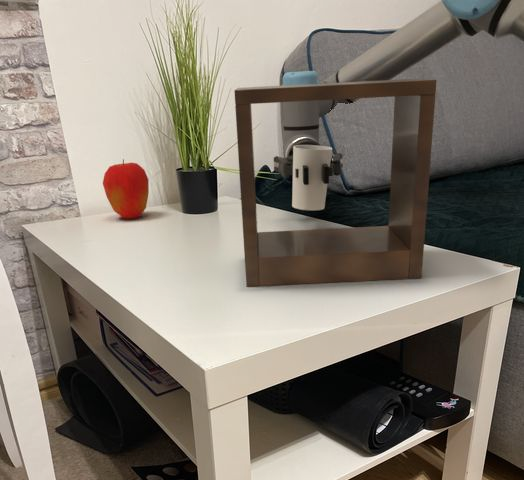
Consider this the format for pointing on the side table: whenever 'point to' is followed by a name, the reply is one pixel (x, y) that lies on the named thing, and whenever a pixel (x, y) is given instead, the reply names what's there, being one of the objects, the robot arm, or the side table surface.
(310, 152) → the drinking glass
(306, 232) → the shelf unit
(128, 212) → the apple
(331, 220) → the side table surface
